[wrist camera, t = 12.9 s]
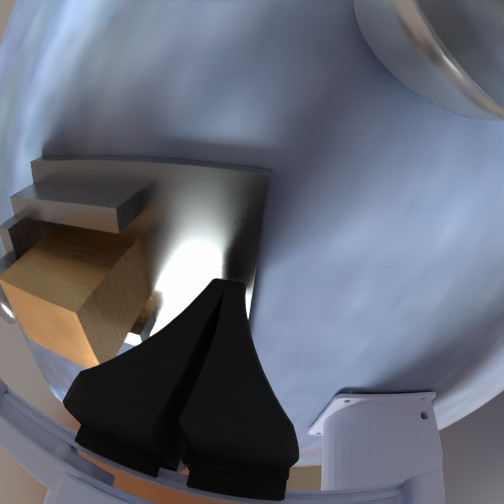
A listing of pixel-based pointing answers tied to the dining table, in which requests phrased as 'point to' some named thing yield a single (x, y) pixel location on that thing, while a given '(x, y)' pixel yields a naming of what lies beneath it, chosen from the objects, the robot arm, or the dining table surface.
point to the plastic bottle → (441, 50)
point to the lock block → (79, 291)
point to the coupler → (149, 222)
